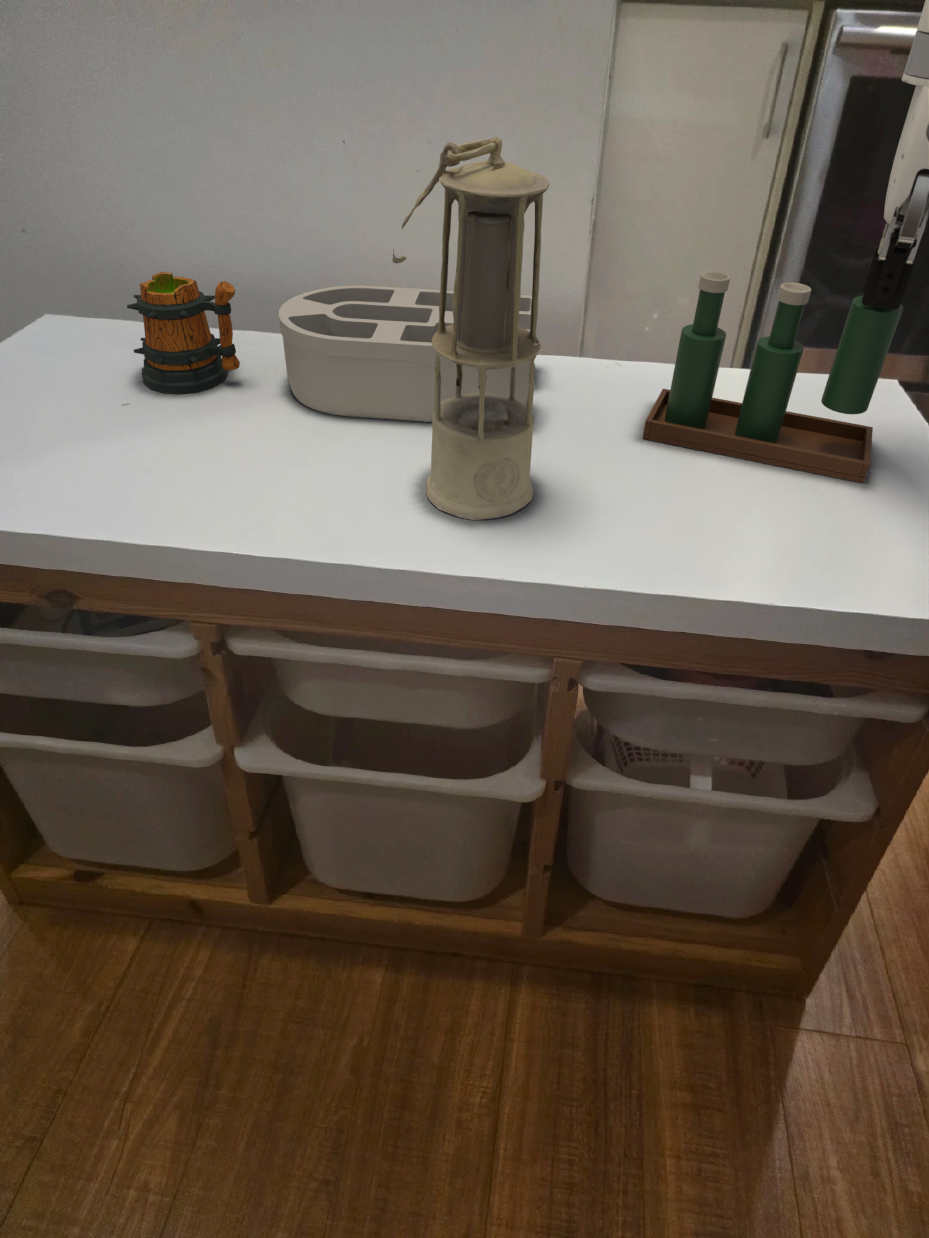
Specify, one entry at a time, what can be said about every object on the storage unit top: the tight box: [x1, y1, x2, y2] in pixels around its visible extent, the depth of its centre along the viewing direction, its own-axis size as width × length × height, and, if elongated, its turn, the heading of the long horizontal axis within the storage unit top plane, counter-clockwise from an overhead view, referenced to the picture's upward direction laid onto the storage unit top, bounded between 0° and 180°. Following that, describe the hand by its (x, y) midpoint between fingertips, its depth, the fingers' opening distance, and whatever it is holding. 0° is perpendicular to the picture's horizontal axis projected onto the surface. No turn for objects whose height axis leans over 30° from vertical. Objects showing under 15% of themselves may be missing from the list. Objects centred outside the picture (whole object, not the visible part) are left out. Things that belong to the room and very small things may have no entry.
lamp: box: [391, 136, 550, 521], centre depth 72 cm, size 10×13×30 cm
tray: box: [642, 388, 874, 484], centre depth 90 cm, size 22×9×2 cm, turn 68°
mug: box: [126, 271, 241, 395], centre depth 96 cm, size 13×10×12 cm
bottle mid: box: [735, 282, 812, 443], centre depth 85 cm, size 4×4×16 cm
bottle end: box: [665, 270, 731, 429], centre depth 87 cm, size 4×4×16 cm
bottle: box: [820, 237, 904, 415], centre depth 80 cm, size 4×4×16 cm
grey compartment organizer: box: [278, 284, 540, 423], centre depth 96 cm, size 17×28×9 cm, turn 84°
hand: (880, 298), depth 78 cm, fingers closed on bottle, 2 cm apart
